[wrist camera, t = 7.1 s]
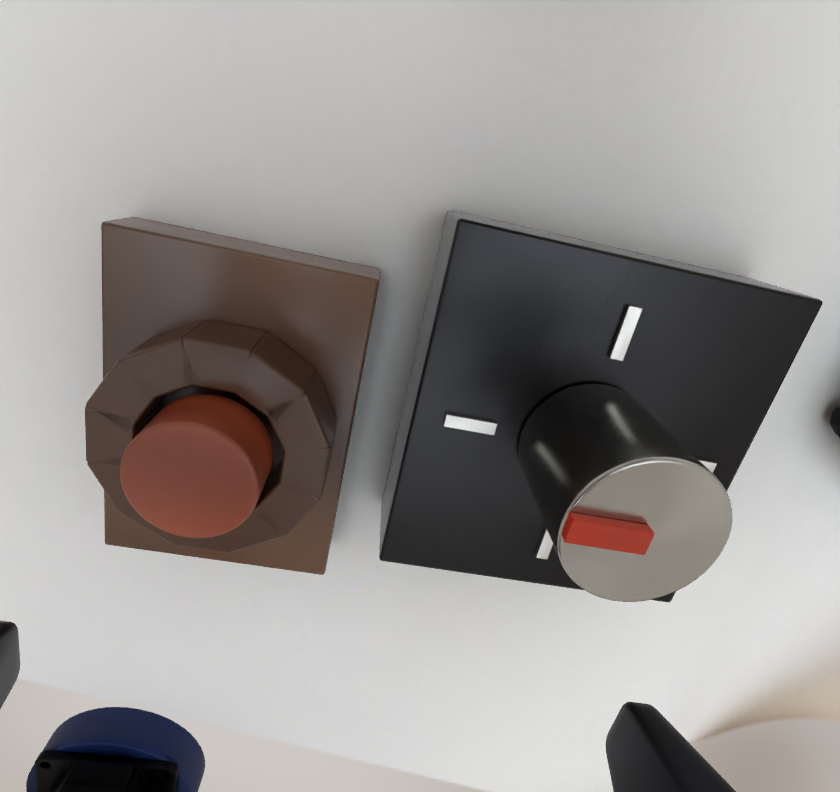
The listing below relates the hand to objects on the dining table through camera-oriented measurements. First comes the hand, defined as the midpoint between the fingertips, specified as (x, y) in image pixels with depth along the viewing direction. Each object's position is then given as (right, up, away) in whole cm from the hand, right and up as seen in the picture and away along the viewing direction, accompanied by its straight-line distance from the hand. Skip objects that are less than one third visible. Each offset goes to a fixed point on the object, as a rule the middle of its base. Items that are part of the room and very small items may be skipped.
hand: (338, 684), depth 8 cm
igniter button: (-4, +3, +6) cm, 8 cm away
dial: (+6, +3, +7) cm, 9 cm away
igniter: (-4, +4, +9) cm, 11 cm away
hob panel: (+6, +4, +9) cm, 12 cm away
